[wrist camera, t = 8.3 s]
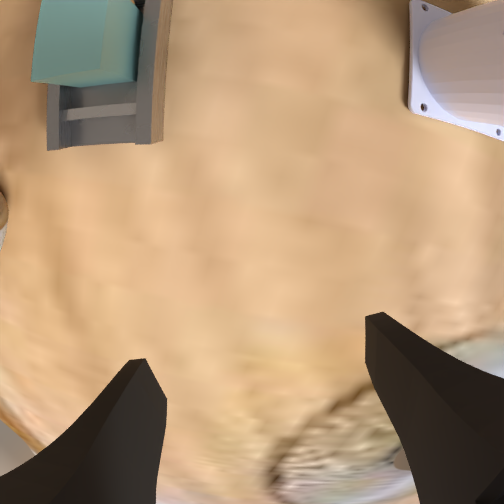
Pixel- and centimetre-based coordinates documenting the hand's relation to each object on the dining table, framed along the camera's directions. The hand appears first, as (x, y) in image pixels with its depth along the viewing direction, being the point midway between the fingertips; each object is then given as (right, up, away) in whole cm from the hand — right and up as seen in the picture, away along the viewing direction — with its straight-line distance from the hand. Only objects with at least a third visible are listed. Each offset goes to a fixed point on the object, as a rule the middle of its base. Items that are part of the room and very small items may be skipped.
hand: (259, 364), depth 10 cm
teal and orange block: (-8, +14, +4) cm, 17 cm away
